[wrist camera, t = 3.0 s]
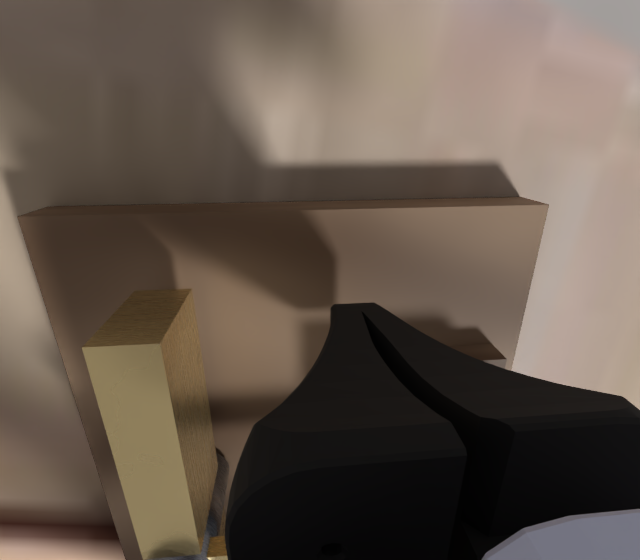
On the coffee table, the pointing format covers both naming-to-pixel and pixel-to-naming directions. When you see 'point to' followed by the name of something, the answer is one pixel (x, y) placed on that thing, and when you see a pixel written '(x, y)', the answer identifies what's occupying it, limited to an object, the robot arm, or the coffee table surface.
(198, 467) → the wooden bar
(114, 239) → the brown board
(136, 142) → the coffee table surface
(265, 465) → the robot arm
